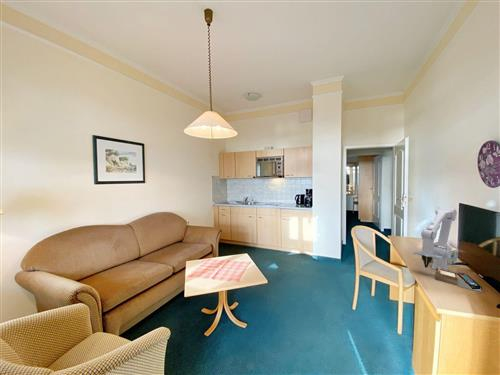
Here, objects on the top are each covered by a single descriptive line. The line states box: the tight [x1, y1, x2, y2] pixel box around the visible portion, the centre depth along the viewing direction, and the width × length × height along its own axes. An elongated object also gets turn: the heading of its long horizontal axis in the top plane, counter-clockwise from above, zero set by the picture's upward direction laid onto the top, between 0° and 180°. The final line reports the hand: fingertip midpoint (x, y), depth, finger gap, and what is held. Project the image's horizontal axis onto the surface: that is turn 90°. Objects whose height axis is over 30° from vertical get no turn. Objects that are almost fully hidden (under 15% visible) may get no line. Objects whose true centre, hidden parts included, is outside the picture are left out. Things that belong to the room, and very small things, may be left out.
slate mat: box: [457, 278, 483, 294], centre depth 126 cm, size 12×10×1 cm
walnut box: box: [434, 268, 459, 286], centre depth 133 cm, size 10×10×4 cm
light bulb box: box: [442, 246, 459, 265], centre depth 159 cm, size 11×7×11 cm, turn 113°
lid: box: [438, 267, 455, 277], centre depth 133 cm, size 7×8×3 cm
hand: (426, 267), depth 140 cm, fingers closed
